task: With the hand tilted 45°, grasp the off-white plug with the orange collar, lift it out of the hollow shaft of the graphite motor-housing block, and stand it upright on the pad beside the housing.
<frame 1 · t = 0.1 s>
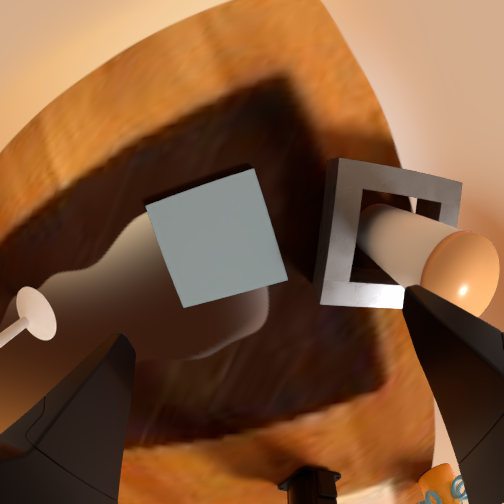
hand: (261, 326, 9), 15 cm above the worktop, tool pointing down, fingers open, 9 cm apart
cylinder: (433, 472, 32), on the worktop
pad: (216, 240, 24), on the worktop
plug: (411, 249, 17), in the housing
champagne flute: (36, 313, 27), on the worktop
housing: (379, 230, 23), on the worktop
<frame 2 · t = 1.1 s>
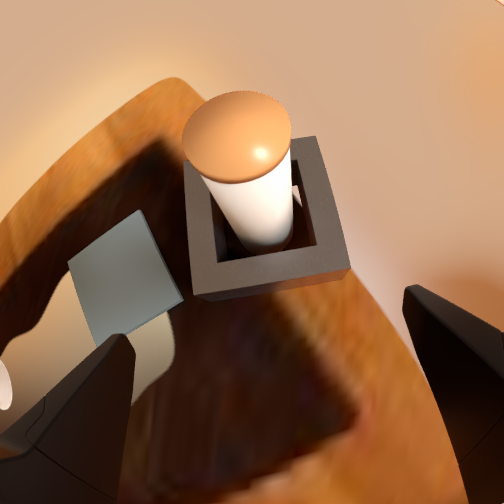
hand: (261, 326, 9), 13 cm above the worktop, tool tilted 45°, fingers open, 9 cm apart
pad: (119, 280, 24), on the worktop
plug: (254, 193, 18), in the housing
housing: (265, 228, 24), on the worktop
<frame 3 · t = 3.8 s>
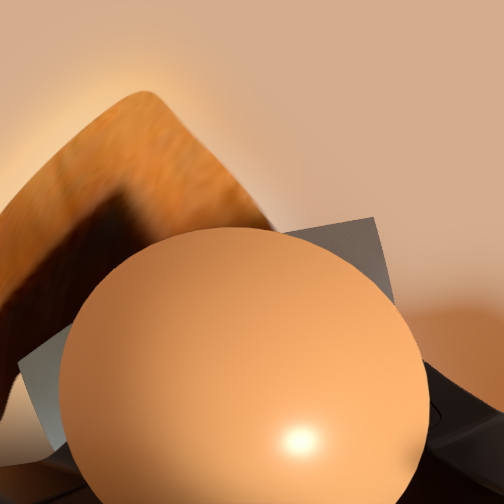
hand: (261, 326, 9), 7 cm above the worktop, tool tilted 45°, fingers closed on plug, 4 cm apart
pad: (79, 401, 15), on the worktop
plug: (269, 370, 9), in the housing, touching gripper
housing: (279, 356, 15), on the worktop
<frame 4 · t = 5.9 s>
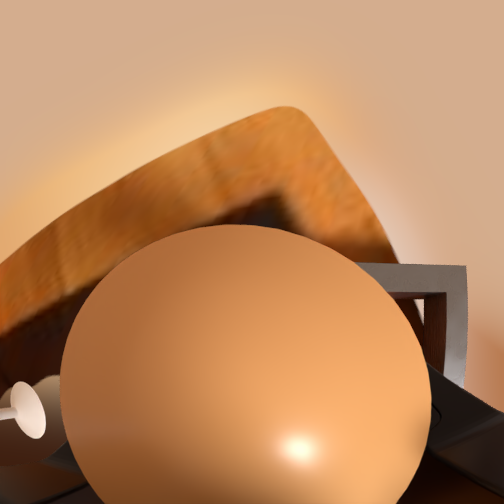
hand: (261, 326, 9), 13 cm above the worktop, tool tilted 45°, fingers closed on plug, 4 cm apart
plug: (270, 369, 9), point 13 cm above the worktop, touching gripper
champagne flute: (27, 410, 23), on the worktop
housing: (385, 341, 20), on the worktop
when the fingers open (8 cm above the worktop, at t = 8.0 s): plug drops 1 cm, resting on pad.
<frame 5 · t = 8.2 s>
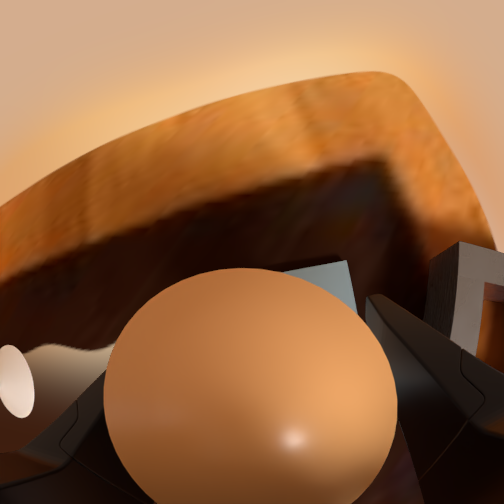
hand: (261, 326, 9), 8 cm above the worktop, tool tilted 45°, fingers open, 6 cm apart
pad: (281, 353, 16), on the worktop
plug: (272, 370, 10), on the pad, point 7 cm above the worktop
champagne flute: (14, 381, 18), on the worktop
housing: (481, 348, 14), on the worktop
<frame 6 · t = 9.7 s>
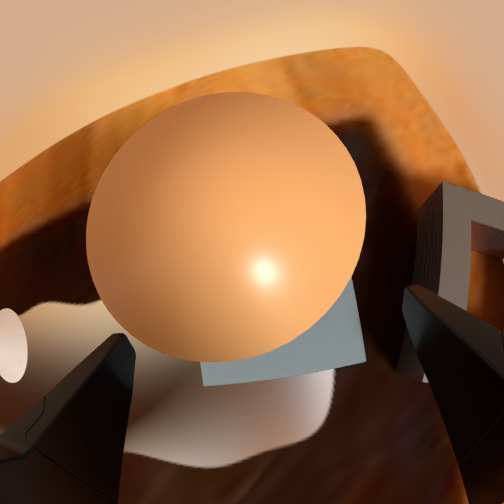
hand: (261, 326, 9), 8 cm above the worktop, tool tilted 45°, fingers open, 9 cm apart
pad: (272, 297, 17), on the worktop
plug: (258, 277, 11), on the pad, point 7 cm above the worktop
champagne flute: (8, 345, 19), on the worktop
housing: (476, 300, 15), on the worktop
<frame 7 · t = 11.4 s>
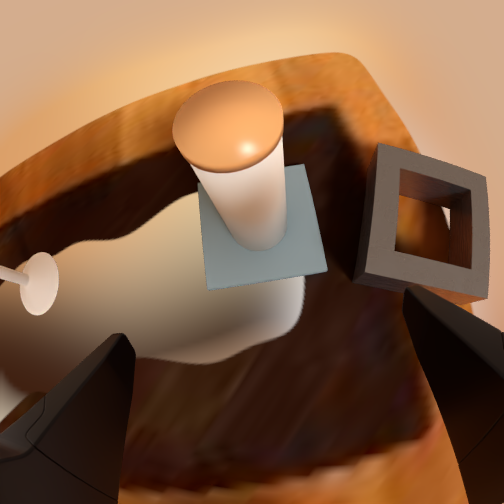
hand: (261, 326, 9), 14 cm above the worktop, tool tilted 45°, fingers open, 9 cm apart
pad: (258, 225, 24), on the worktop
plug: (247, 186, 17), on the pad, point 7 cm above the worktop
champagne flute: (39, 283, 26), on the worktop
housing: (417, 234, 22), on the worktop
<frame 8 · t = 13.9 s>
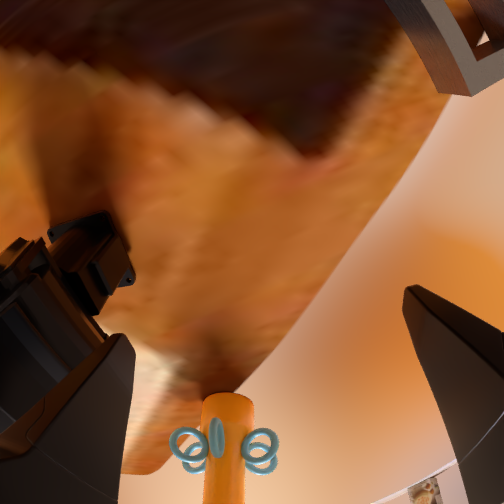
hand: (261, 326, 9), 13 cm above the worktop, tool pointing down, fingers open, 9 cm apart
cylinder: (228, 403, 33), on the worktop
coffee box: (421, 482, 66), on the worktop
housing: (448, 13, 13), on the worktop
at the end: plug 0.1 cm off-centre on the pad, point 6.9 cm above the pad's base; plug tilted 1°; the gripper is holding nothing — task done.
